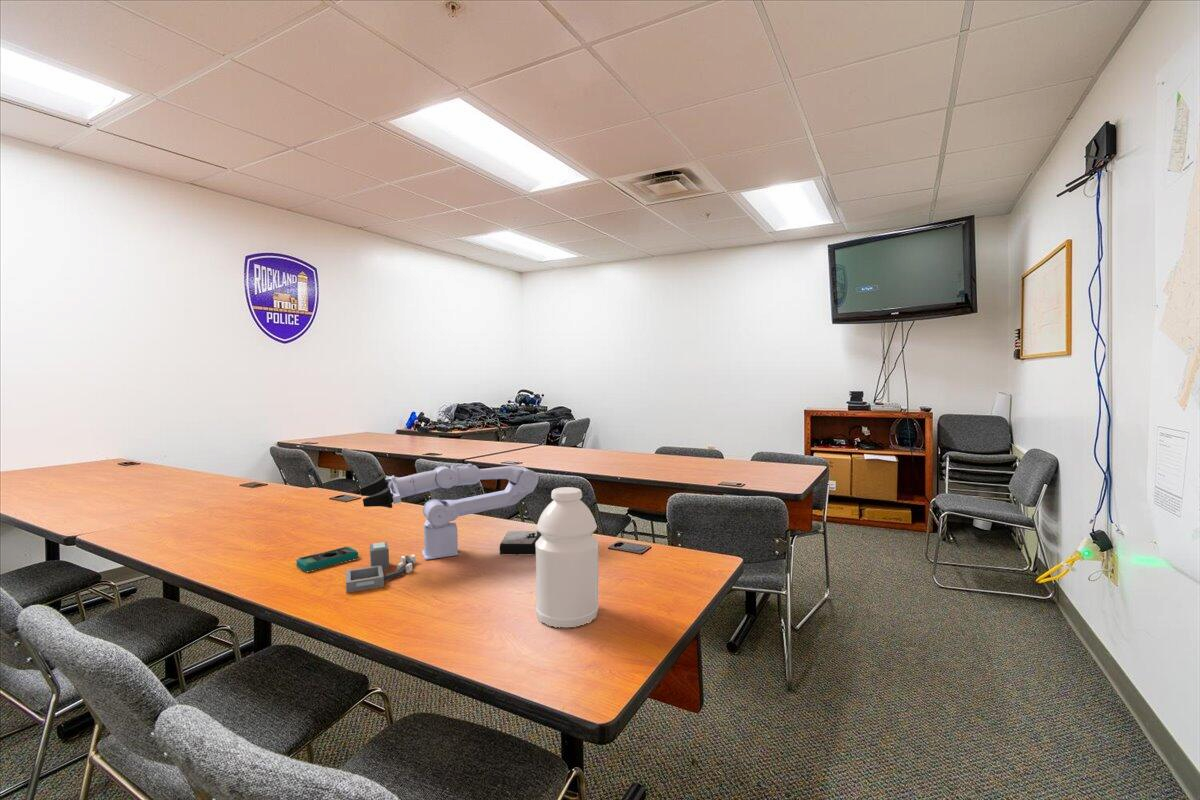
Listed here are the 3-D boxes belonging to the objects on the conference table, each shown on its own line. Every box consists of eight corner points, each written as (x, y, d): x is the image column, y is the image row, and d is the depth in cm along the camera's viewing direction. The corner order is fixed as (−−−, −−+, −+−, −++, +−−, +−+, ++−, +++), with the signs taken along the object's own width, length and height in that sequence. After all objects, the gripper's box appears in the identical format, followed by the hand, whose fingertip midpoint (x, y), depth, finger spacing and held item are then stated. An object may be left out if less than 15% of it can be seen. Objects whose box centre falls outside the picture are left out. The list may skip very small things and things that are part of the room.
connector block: (387, 563, 147) (387, 540, 147) (389, 570, 142) (388, 547, 141) (370, 565, 145) (369, 543, 145) (371, 572, 140) (370, 549, 139)
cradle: (381, 574, 139) (381, 565, 138) (383, 587, 130) (383, 577, 130) (346, 579, 135) (346, 570, 135) (346, 593, 126) (346, 583, 126)
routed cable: (423, 559, 149) (423, 552, 149) (400, 581, 133) (400, 574, 133) (404, 559, 150) (404, 552, 149) (380, 581, 134) (379, 574, 133)
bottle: (591, 632, 107) (591, 498, 106) (527, 627, 109) (526, 496, 108) (603, 603, 121) (603, 484, 120) (545, 598, 123) (545, 482, 122)
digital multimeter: (360, 559, 151) (360, 549, 151) (305, 574, 140) (304, 563, 140) (349, 554, 156) (349, 544, 156) (295, 568, 144) (295, 557, 144)
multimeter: (563, 556, 153) (563, 539, 153) (499, 556, 154) (499, 539, 153) (567, 542, 166) (567, 526, 166) (507, 542, 167) (507, 526, 166)
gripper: (406, 463, 155) (356, 474, 149) (415, 481, 143) (361, 494, 136) (409, 484, 157) (361, 496, 151) (418, 504, 145) (366, 518, 138)
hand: (361, 497), depth 144 cm, fingers open, 7 cm apart
